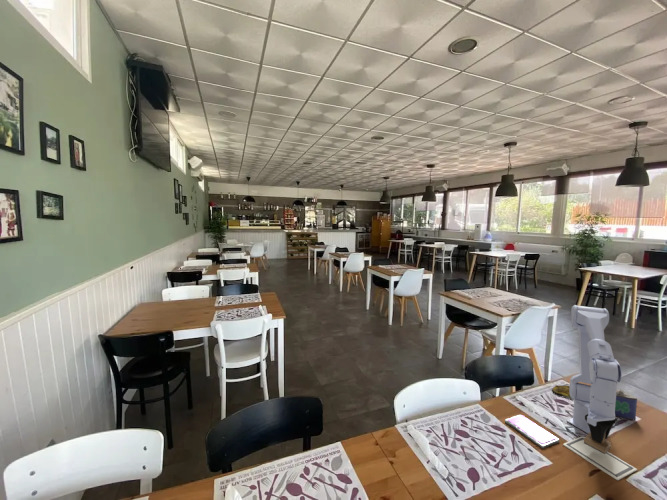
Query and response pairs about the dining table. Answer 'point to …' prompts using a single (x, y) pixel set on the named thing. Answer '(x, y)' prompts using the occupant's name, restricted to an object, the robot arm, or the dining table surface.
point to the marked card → (601, 459)
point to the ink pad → (532, 431)
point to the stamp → (592, 443)
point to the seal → (562, 391)
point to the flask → (625, 406)
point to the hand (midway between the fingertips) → (599, 438)
